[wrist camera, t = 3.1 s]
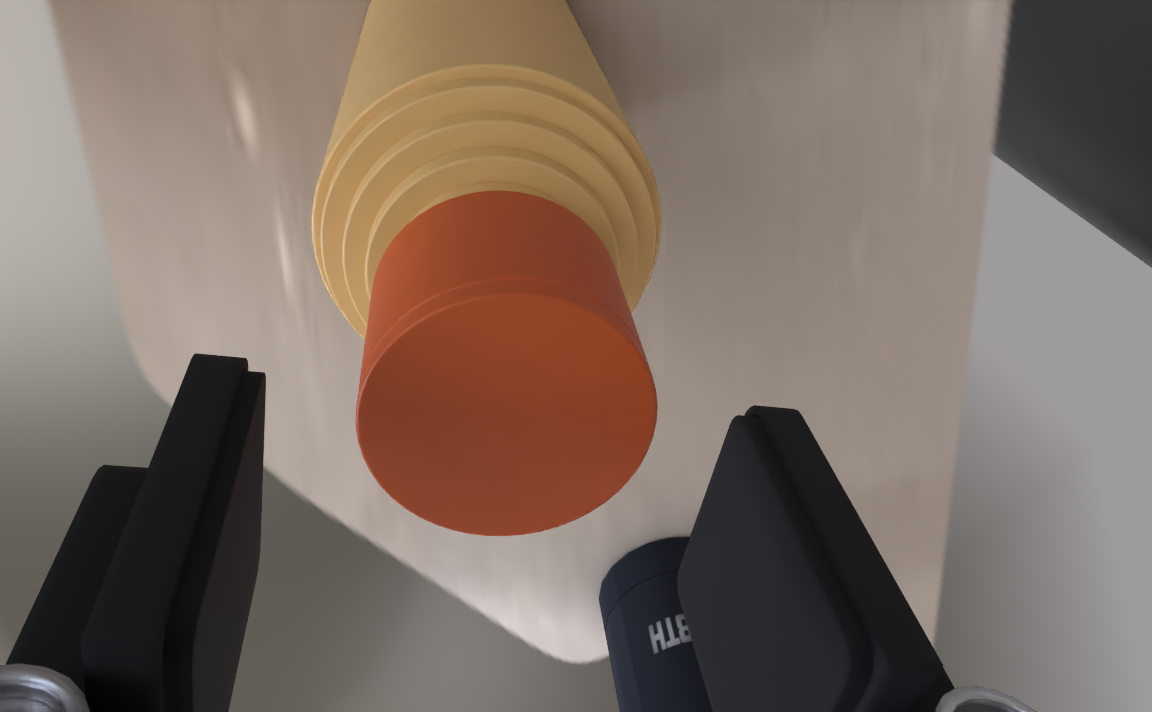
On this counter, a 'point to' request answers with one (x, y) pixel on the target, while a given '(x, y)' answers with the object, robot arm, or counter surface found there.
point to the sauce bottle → (476, 136)
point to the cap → (501, 368)
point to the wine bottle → (651, 632)
